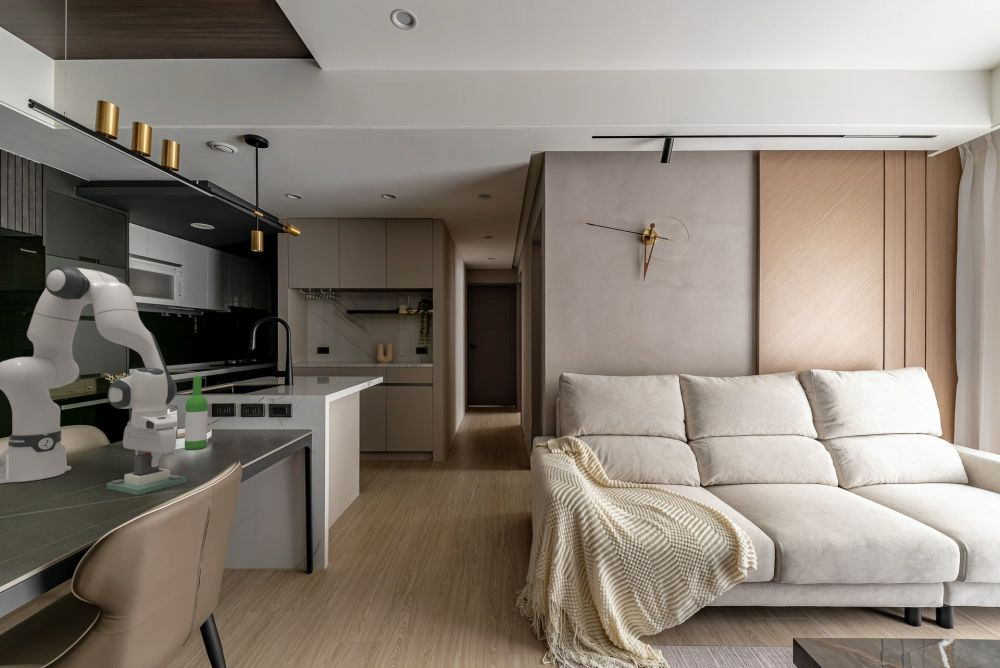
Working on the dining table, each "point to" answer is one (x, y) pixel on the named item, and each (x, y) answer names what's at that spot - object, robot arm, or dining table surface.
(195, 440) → the wine bottle
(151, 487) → the header board
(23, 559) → the dining table surface
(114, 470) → the dining table surface
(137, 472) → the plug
